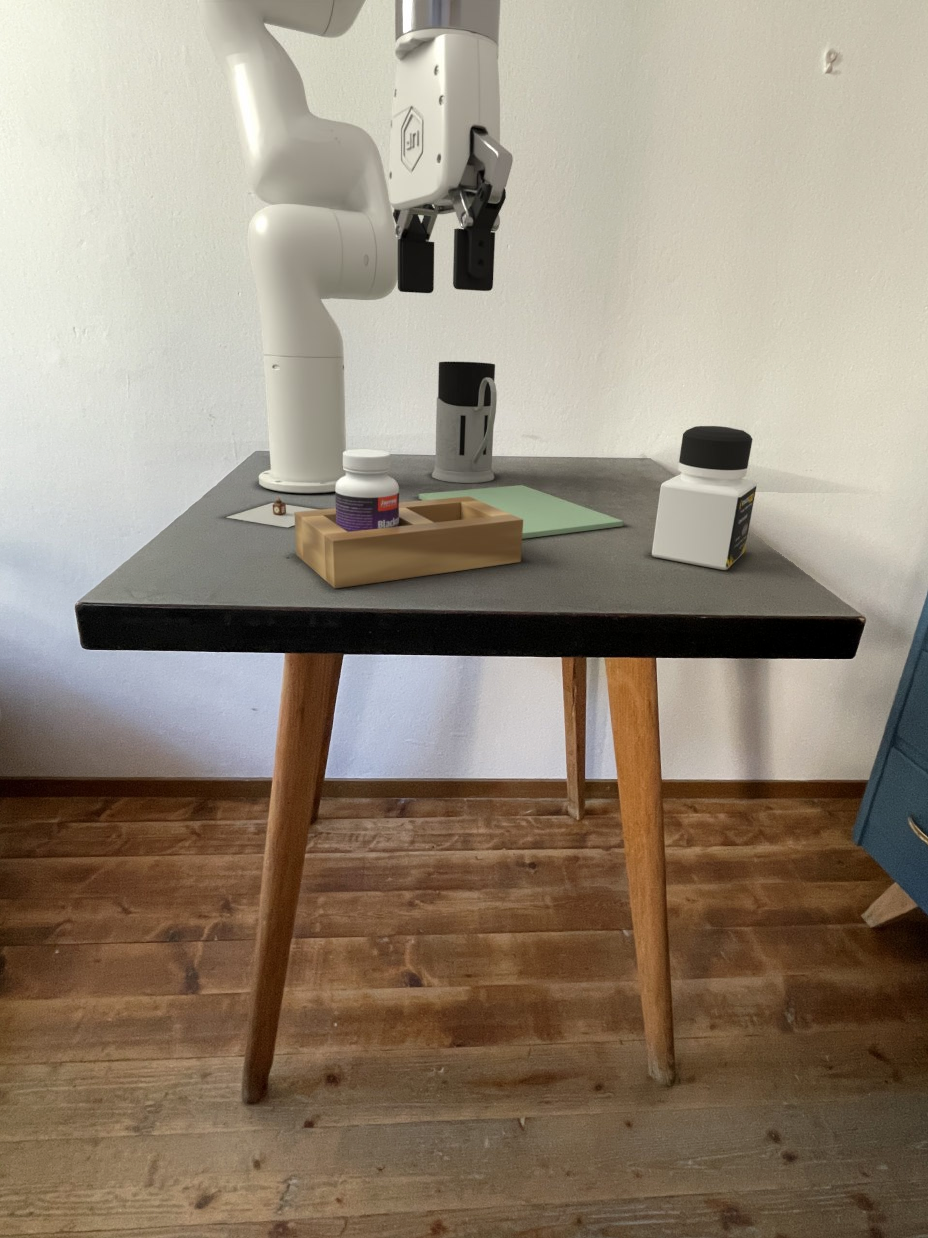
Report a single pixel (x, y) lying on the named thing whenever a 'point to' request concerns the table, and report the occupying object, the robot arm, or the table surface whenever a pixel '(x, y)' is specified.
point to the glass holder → (465, 422)
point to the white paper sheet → (272, 514)
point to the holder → (409, 542)
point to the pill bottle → (366, 492)
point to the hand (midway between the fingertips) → (442, 291)
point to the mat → (535, 510)
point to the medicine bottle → (707, 500)
